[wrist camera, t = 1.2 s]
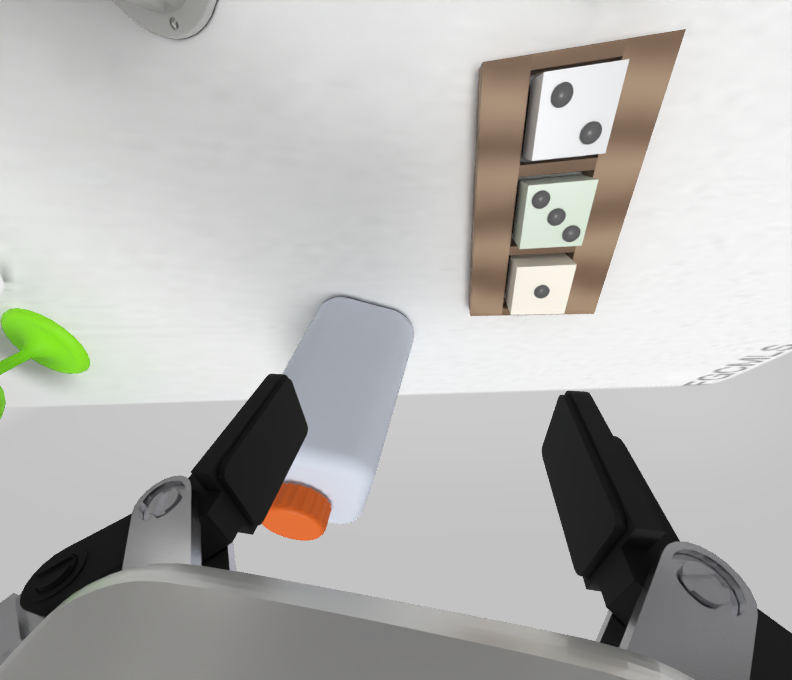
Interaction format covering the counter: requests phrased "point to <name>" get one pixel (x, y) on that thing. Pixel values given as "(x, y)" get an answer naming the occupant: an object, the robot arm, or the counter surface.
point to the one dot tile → (539, 283)
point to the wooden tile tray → (561, 163)
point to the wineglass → (40, 345)
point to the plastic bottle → (340, 413)
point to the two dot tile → (573, 110)
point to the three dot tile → (553, 211)
